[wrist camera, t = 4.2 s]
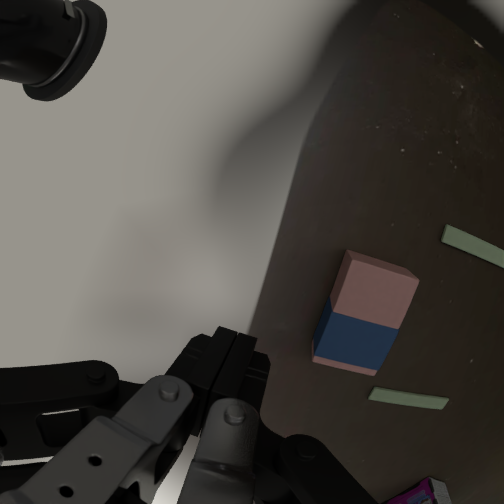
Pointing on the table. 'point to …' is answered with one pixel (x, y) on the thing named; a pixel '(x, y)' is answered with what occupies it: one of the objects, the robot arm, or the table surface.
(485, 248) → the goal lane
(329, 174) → the table surface
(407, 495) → the candy bar box
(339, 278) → the eraser
